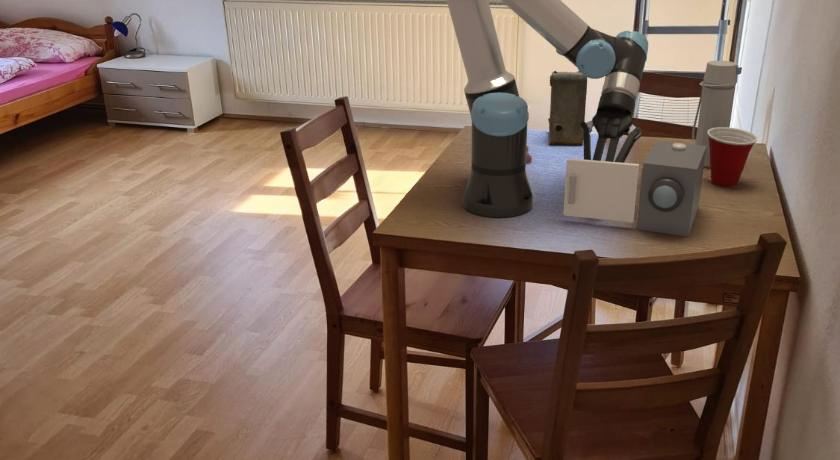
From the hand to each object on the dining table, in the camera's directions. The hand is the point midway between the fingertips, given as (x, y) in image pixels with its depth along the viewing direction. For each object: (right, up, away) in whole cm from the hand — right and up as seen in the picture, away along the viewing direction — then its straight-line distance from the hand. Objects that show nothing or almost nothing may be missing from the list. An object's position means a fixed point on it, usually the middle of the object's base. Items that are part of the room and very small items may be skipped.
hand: (594, 197), depth 160 cm
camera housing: (+15, -5, +1) cm, 16 cm away
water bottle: (+35, +10, +35) cm, 50 cm away
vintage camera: (+4, +19, +56) cm, 60 cm away
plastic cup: (+35, +4, +21) cm, 41 cm away
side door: (+1, -4, -1) cm, 5 cm away
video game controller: (-10, +12, +41) cm, 44 cm away
